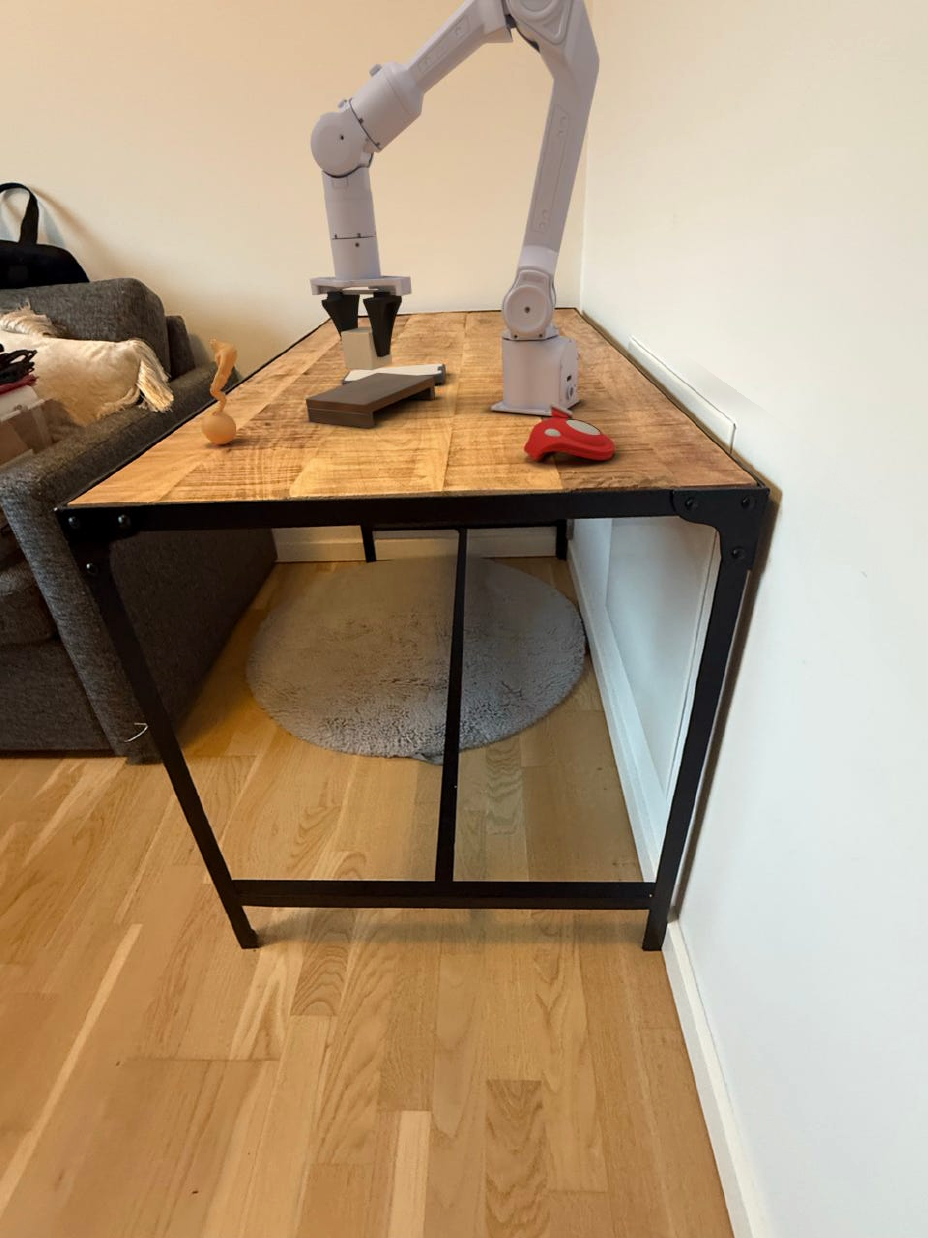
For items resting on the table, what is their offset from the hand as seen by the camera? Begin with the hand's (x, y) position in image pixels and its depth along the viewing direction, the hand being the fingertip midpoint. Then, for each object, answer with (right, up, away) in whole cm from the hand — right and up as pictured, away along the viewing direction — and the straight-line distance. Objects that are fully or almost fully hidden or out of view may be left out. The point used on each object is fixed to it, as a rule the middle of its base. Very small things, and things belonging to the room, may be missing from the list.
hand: (368, 354), depth 89 cm
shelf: (0, -6, +4) cm, 7 cm away
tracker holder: (+25, -17, -16) cm, 34 cm away
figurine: (-16, -14, -6) cm, 22 cm away
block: (0, -1, +1) cm, 1 cm away
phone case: (+2, +3, +18) cm, 18 cm away
